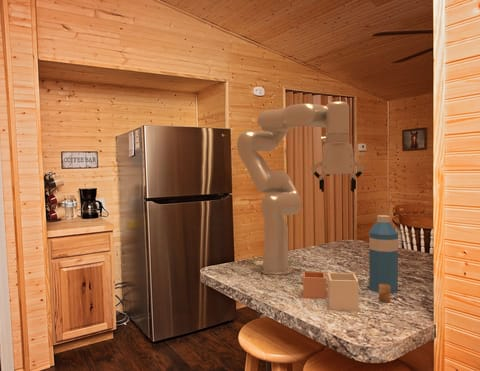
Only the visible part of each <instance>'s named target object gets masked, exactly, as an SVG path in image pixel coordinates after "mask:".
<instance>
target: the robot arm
mask: <svg viewBox="0 0 480 371" xmlns="http://www.w3.org/2000/svg"><path fill="white" fill-rule="evenodd" d="M256 121H257V122H256V123H257V125H258V127H259V128H260V129H261V130H262V131H261V130H245V131H243V132H241V133H240V134H239V136H238V138H237V141H236V142H237V143H236V149H237V153H238V156H239V158H240V160H241V161H242V163H243V165H244V166H245V168H246V170H247V172H248V174H249V176H250V178H251V180H252V182H253V185H254V187H255V189H256V190H257V192H259V193H260V194H263V195H264V194H265V195H264V196H263V198H262V199H261V203H260V205H261V206H260V207H261V212H262V213H261V214H262V219H263V235H264V237H263V241H264V242H263V243H264V245H263V246H264V247H263V248H264V252H263V253H264V254H263V255H264V258H263V259H261V260H253V266H256V267H260V272H261V273H262V274H265V275H267V276H268V275H269V276H286V275H291V273H293V267H291V266H289V226H288V223H287V221H286V219H285V216H292V215H296V214H299V212H300V211H301V209H302V204H303V202H302V199H301V196H300V194H299V192H298V190H297V188H296V186H295V184H294V182H293V180H292V179H291V177H290V176H289V174H288V173H287V172H285V171H283V170H279V169H278V170H273V169H271V168H270V167H269V165H268V163H267V161H266V160H265V158H264V157H263V156H262V155H261V154H260V153H259V152H271V151H274V150H275V149H276V148H277V147H278V145H279V144H280V143H281V141H282V140H283V139H284V138H285V136H286V135H287V133H288V132H289V131H292V130H294V129H295V128H296V127H316V128H325V136H321V142H325V144H323V145H322V153H321V161H320V162H318V163H316V164H314V165H311V167H310V169H311V171H312V174H313V175H314V176H315V177H316V178H317V179H318V181H319V185H318V188H319V190H320V191H321V193H324V192H325V180H324V178H325V177H326V175H348V176H350V178H351V179H350V191H351V192H352V193H354V192H355V190H357V179H358V178H359V177H361V175H362V174H363V172H364V170H365V168H366V166H365V165H364V164H361V163H359V162H357V161H355V160H354V148H353V144H352V143H350V106H349V103H348V102H347V101H341V100H340V101H338V100H337V101H332V102H328V103H326V105H323V104H315V103H297V104H290V105H288V106H286V107H281V108H274V109H268V110H264V111H262V112H261V113H260V114H259V115H258V117H257V120H256ZM319 167H321V174H319V173H318V171H317V168H319ZM355 167H356V168H358V170H357V172H356V173H354V172H355V171H354V170H355Z"/></svg>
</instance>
